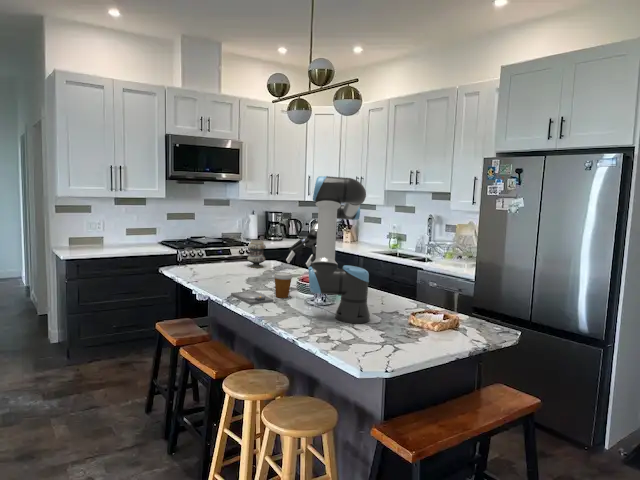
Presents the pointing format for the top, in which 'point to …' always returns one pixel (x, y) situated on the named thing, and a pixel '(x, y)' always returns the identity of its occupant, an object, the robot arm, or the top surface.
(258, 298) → the mug warmer
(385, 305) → the top surface
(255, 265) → the grey stone vase
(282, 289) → the disposable coffee cup
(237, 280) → the top surface
